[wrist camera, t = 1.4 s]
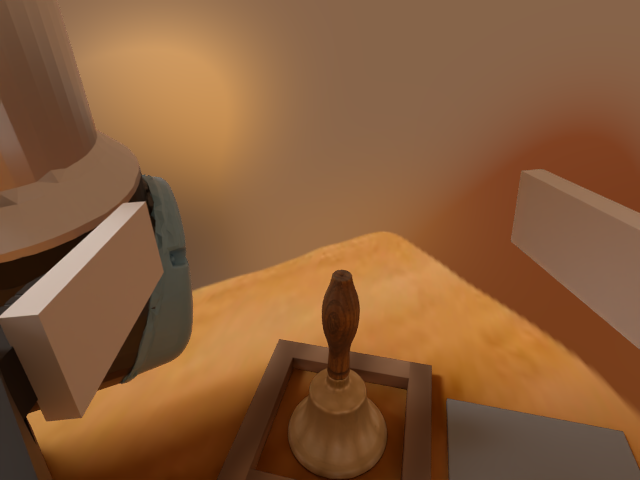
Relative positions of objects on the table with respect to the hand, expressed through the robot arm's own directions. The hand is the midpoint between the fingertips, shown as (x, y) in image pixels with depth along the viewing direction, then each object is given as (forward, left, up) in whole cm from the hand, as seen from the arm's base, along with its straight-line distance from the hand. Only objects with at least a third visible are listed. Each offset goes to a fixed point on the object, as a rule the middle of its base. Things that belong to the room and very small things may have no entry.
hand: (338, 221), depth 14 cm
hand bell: (-1, +8, -25) cm, 26 cm away
